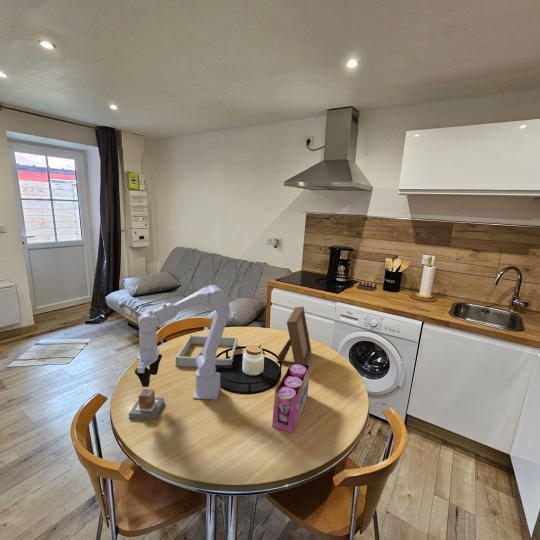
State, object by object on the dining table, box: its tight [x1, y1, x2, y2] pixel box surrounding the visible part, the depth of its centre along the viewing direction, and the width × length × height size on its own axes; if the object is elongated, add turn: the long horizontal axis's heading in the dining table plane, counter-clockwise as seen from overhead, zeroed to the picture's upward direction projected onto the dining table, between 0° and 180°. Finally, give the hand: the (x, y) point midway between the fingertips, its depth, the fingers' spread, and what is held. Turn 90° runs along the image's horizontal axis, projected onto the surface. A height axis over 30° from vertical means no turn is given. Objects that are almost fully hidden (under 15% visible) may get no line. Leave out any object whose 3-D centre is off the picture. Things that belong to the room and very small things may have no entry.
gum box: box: [271, 361, 311, 433], centre depth 108 cm, size 24×8×14 cm, turn 160°
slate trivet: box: [128, 397, 165, 420], centre depth 106 cm, size 9×9×2 cm
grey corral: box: [175, 334, 238, 368], centre depth 147 cm, size 26×24×4 cm
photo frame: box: [276, 306, 312, 365], centre depth 145 cm, size 15×22×25 cm
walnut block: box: [138, 388, 156, 409], centre depth 105 cm, size 4×4×5 cm
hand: (149, 380), depth 107 cm, fingers open, 7 cm apart
